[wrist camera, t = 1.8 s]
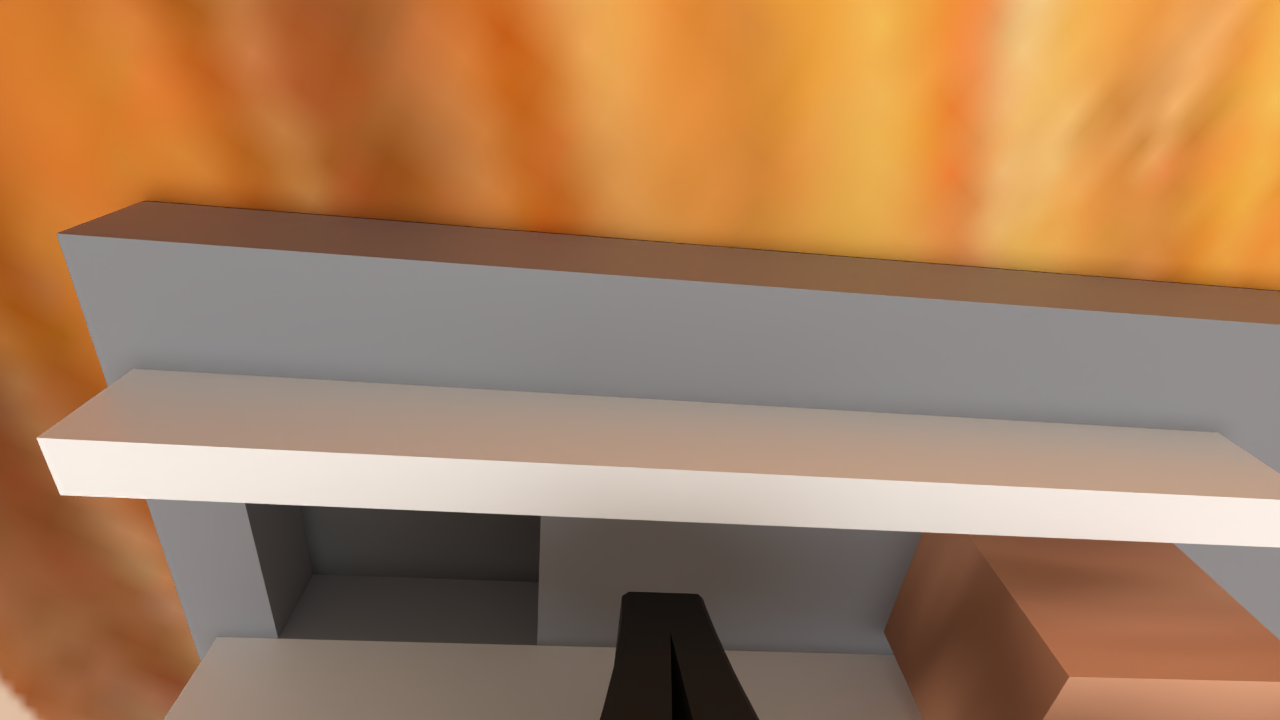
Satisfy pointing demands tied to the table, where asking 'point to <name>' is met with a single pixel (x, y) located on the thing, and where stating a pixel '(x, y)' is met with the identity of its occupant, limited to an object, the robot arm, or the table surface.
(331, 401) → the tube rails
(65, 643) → the table surface
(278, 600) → the trap deck
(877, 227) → the table surface
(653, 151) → the table surface
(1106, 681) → the block
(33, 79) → the table surface
